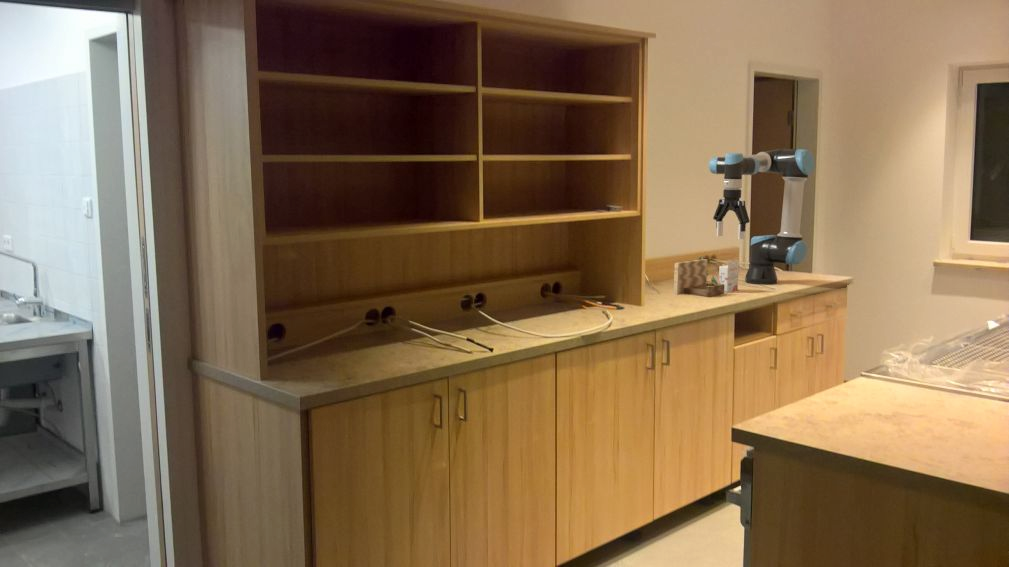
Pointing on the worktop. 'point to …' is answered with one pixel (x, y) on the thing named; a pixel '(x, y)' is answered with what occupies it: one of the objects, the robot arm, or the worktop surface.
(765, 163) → the robot arm
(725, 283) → the ink cartridge box
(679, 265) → the brown wooden bookend
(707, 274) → the yellow and green bunch
